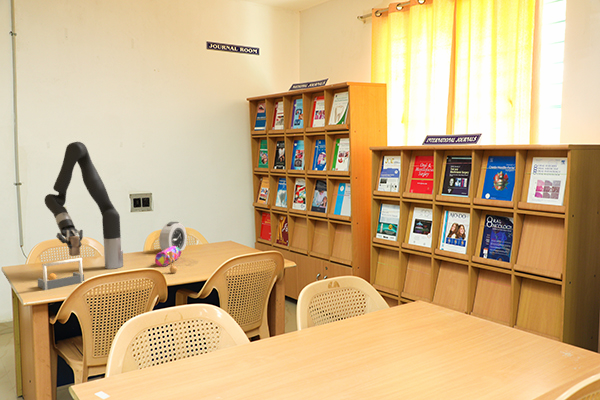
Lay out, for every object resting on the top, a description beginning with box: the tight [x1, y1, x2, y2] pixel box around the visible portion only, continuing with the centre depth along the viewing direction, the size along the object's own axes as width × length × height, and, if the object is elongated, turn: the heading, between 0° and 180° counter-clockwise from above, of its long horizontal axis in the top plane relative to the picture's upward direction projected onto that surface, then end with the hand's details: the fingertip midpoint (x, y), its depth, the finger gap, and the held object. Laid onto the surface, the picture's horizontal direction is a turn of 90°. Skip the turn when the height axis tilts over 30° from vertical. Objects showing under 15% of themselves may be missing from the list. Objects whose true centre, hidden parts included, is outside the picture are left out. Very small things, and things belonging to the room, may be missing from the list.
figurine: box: [165, 251, 180, 274], centre depth 271 cm, size 8×6×12 cm
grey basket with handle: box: [37, 257, 85, 291], centre depth 248 cm, size 20×9×13 cm, turn 137°
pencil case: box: [154, 246, 182, 267], centre depth 297 cm, size 22×9×9 cm, turn 175°
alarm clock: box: [158, 221, 188, 252], centre depth 332 cm, size 21×8×20 cm, turn 160°
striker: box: [68, 235, 81, 257], centre depth 266 cm, size 4×4×10 cm
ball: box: [47, 273, 58, 281], centre depth 256 cm, size 4×4×4 cm
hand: (75, 247), depth 265 cm, fingers closed on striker, 4 cm apart
